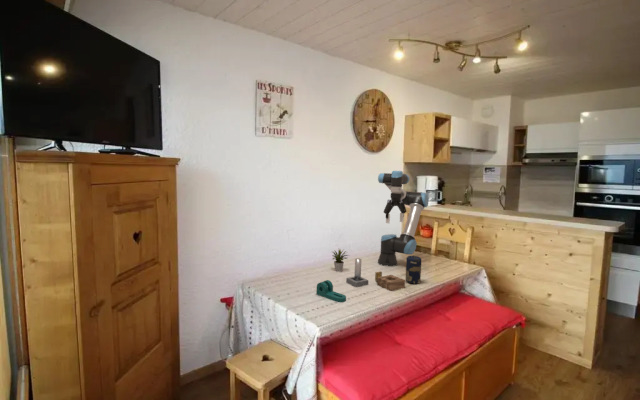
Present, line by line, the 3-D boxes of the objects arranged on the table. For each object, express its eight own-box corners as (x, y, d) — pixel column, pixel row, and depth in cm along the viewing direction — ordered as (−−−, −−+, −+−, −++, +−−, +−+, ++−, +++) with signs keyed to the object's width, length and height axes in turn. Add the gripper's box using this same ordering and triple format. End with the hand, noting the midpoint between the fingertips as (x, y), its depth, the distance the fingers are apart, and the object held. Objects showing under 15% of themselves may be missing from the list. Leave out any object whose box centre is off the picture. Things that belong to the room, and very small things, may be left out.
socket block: (377, 284, 210) (377, 277, 210) (390, 282, 217) (391, 274, 216) (390, 291, 200) (391, 283, 200) (404, 287, 206) (405, 280, 206)
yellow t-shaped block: (374, 280, 217) (375, 272, 217) (379, 279, 220) (380, 271, 219) (385, 284, 209) (385, 276, 209) (390, 283, 212) (390, 275, 211)
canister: (420, 281, 221) (422, 254, 219) (419, 285, 212) (421, 258, 210) (405, 279, 224) (407, 253, 222) (404, 283, 215) (406, 256, 213)
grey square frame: (346, 282, 213) (346, 278, 213) (358, 280, 218) (358, 275, 218) (355, 287, 204) (356, 282, 204) (368, 284, 210) (368, 280, 210)
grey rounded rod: (352, 283, 212) (353, 258, 211) (357, 282, 214) (358, 258, 213) (356, 285, 209) (357, 260, 207) (361, 284, 211) (362, 259, 209)
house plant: (337, 275, 228) (338, 251, 226) (324, 270, 238) (325, 248, 237) (351, 271, 237) (352, 249, 236) (338, 266, 247) (339, 245, 246)
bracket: (316, 294, 191) (316, 281, 190) (323, 291, 196) (324, 278, 195) (340, 303, 179) (341, 289, 178) (348, 300, 184) (348, 286, 183)
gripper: (387, 193, 222) (385, 224, 223) (412, 193, 235) (410, 222, 237) (379, 192, 228) (377, 222, 230) (404, 192, 241) (403, 220, 243)
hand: (394, 222), depth 233 cm, fingers open, 13 cm apart
